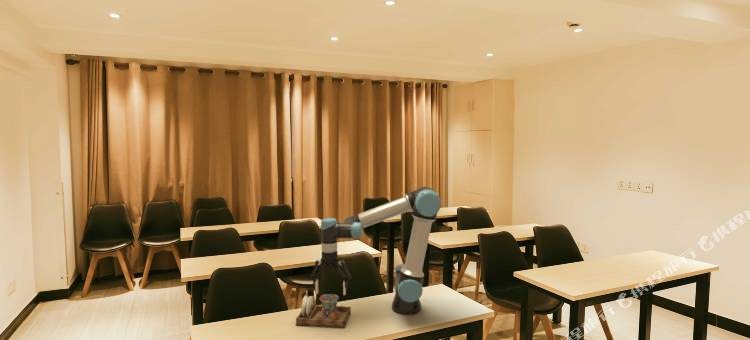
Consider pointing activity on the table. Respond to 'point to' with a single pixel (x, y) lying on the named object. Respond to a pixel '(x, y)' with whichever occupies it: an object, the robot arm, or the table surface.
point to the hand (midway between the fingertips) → (330, 293)
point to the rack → (316, 319)
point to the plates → (307, 306)
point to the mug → (329, 306)
